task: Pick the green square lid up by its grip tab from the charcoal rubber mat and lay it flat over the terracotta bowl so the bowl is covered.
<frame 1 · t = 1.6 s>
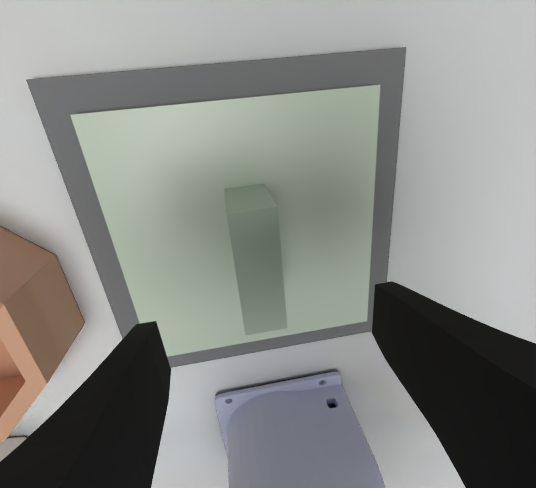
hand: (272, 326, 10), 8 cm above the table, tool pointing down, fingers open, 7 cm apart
green square lid: (249, 236, 17), resting on mat
mat: (248, 232, 18), on the table
jar: (3, 469, 22), on the table
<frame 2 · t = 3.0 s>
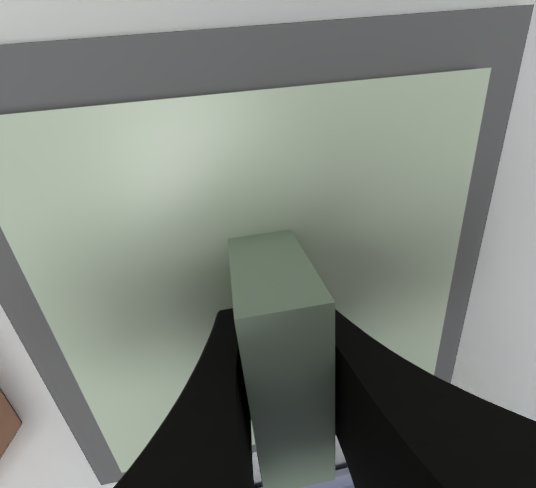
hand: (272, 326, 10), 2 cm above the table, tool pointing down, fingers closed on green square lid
green square lid: (265, 302, 11), resting on mat, touching gripper
mat: (264, 294, 12), on the table
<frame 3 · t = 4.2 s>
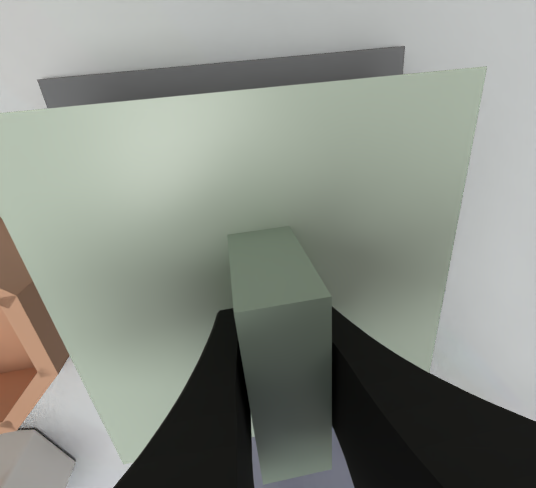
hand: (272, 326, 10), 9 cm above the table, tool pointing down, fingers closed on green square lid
green square lid: (264, 297, 12), point 7 cm above the table, touching gripper
mat: (252, 228, 18), on the table
jar: (12, 461, 23), on the table
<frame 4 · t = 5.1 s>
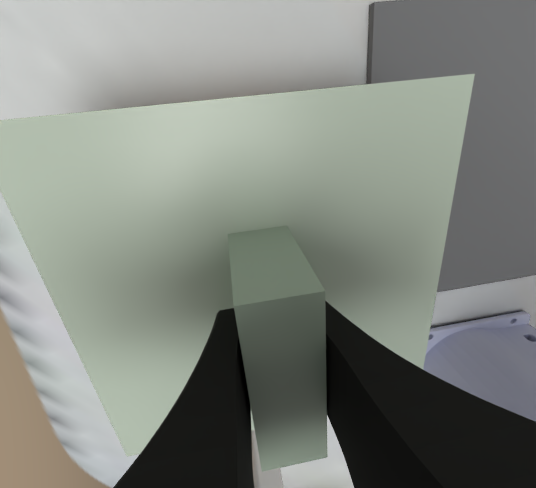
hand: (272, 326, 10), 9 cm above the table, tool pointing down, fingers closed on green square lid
green square lid: (263, 294, 12), point 7 cm above the table, touching gripper
mat: (494, 164, 19), on the table
jar: (212, 404, 24), on the table
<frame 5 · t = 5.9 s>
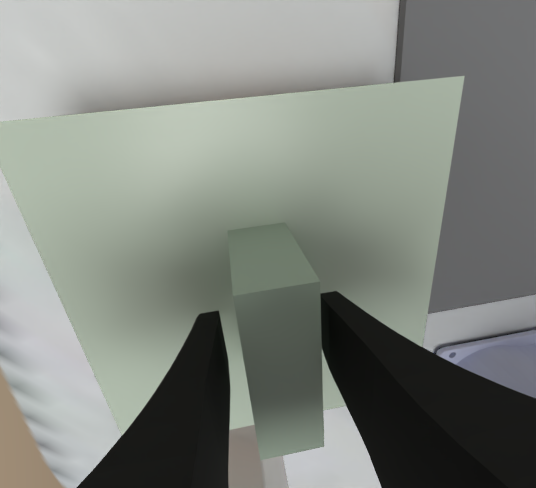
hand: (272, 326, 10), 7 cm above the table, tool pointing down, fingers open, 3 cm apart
green square lid: (262, 290, 12), point 4 cm above the table, touching bowl
mat: (530, 169, 17), on the table
jar: (215, 426, 22), on the table
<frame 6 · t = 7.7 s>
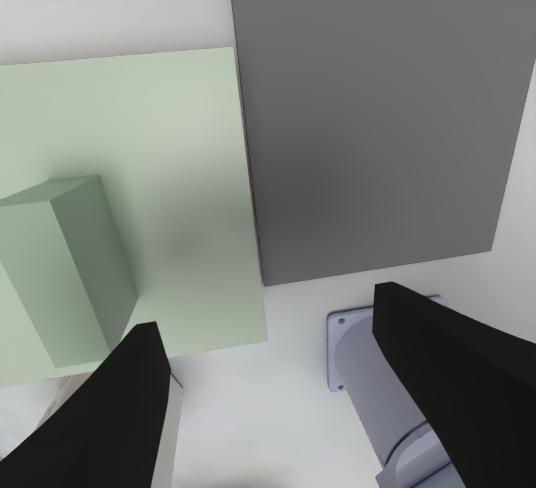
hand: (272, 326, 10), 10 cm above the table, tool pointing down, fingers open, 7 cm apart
green square lid: (102, 239, 14), point 4 cm above the table, touching bowl
mat: (386, 143, 19), on the table
jar: (124, 387, 24), on the table
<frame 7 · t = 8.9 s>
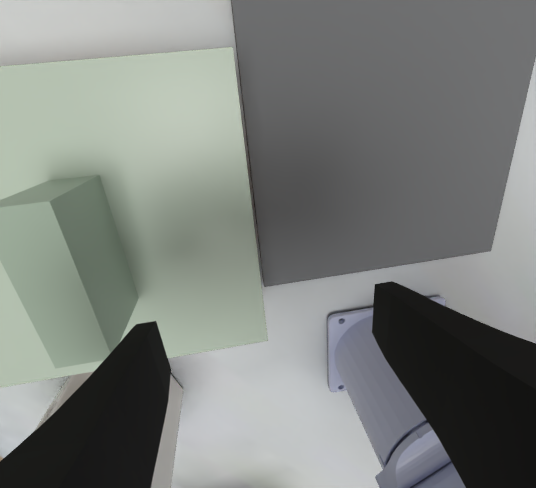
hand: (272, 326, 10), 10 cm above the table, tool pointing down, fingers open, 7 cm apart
green square lid: (102, 240, 14), point 4 cm above the table, touching bowl
mat: (386, 143, 19), on the table
jar: (124, 387, 24), on the table
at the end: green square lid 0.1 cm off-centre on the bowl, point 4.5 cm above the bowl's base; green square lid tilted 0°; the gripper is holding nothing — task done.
